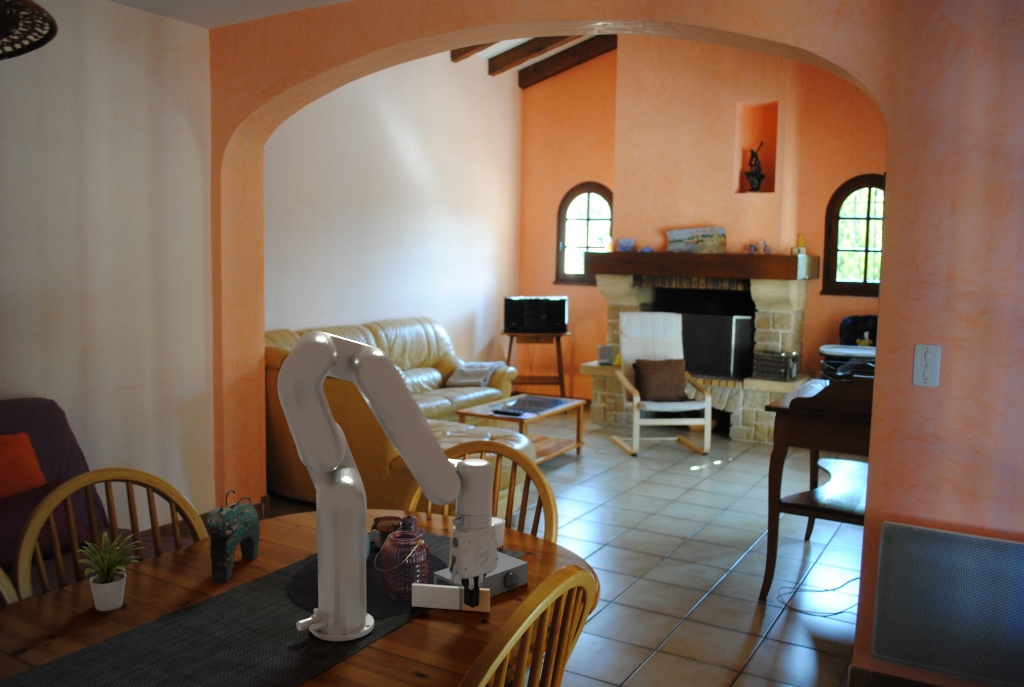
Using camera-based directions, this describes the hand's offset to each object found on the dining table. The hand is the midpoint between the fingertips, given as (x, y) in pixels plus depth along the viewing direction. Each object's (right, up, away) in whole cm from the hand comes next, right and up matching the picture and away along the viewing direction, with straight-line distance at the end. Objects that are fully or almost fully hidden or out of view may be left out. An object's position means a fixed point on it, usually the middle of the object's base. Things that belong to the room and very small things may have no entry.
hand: (471, 604), depth 178 cm
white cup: (+3, +2, +43) cm, 43 cm away
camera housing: (+1, -1, +15) cm, 15 cm away
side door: (-5, -2, +4) cm, 6 cm away
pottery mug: (-23, +2, +45) cm, 51 cm away
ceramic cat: (-58, 0, +25) cm, 63 cm away
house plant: (-77, -2, +2) cm, 77 cm away
